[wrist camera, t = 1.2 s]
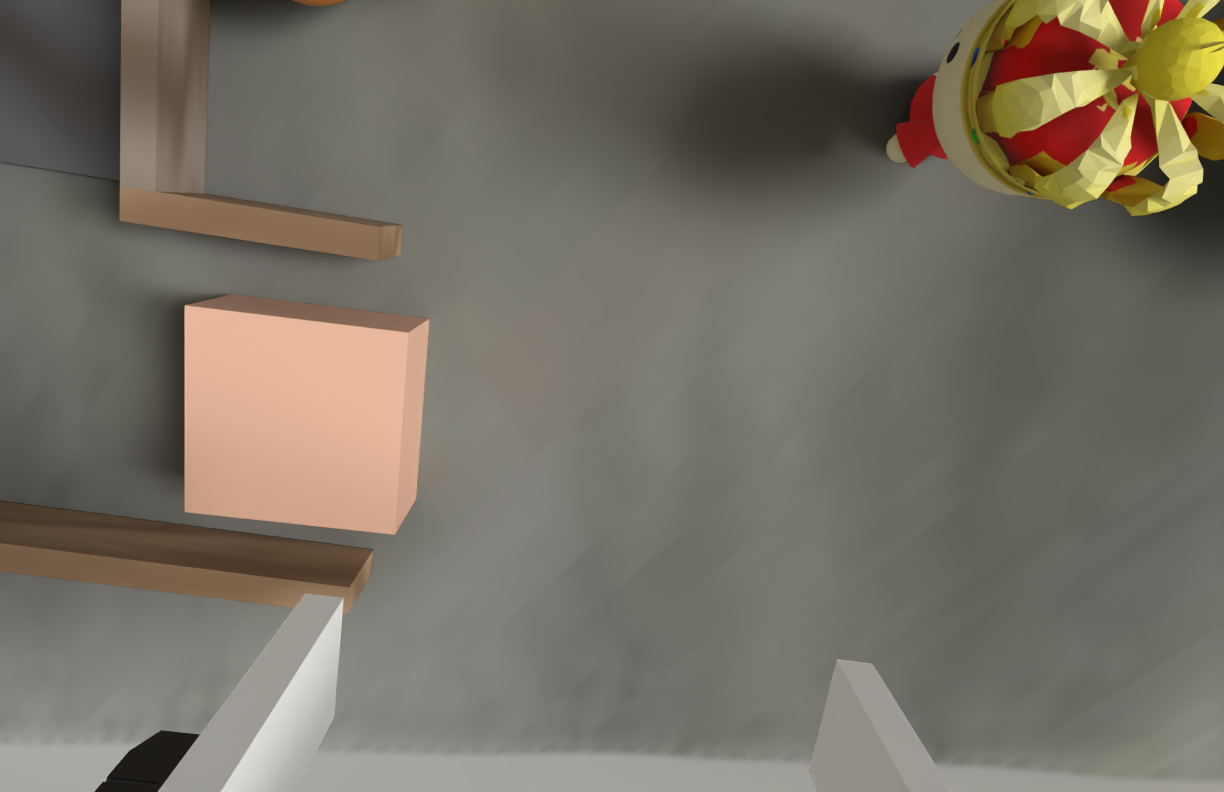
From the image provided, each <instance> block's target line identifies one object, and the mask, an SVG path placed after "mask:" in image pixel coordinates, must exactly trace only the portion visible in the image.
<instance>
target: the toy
mask: <svg viewBox="0 0 1224 792" xmlns="http://www.w3.org/2000/svg"><path fill="white" fill-rule="evenodd" d="M1219 1H1220V0H1189V1H1188V2H1187V4H1186V5H1185V7H1183V5H1182V4H1181V2H1180V1H1179V0H994V1H992V2H991V3H989V4H988V5H986V6H985V7H984V8H983V9H982V10H981V11H980V12H979V13H978V14H977V15H976V16H974V17H973V18H972V19H971V20H970V21H969V22H968V23H967V24H966V25H965V26H964V27H963V28H962V30H961V31H960V33H959V34H958V35H957V37H956V38H955V40H954V41H953V42H952V44H951V45H950V47H949V48H948V50H947V52H946V54H945V56H944V58H943V61H942V63H941V65H940V68H939V71H938V72H937V73H934V74H932V75H931V76H930V77H929V78H928V79H927V80H926V81H925V82H924V83H923V84H922V85H921V86H920V87H919V88H918V90H917V92H916V94H915V96H914V98H913V100H912V101H911V108H910V109H909V110H908V111H907V113H906V114H905V116H904V117H903V118H902V123H898V124H897V125H896V135H894V136H893V137H892V138H891V139H890V140H889V142H888V143H887V147H886V152H887V155H888V157H889V158H890V159H891V160H892V161H894V162H897V163H903V162H906V161H907V162H908V163H909V165H910V166H911V167H913V168H915V167H916V166H917V165H918V164H919V163H920V162H922V161H923V160H924V159H925V158H926V157H928V156H929V155H933V156H936V157H939V158H942V159H950V161H951V162H952V163H953V165H954V166H955V167H956V168H957V169H958V170H959V171H960V172H961V173H962V174H964V175H965V176H966V177H968V178H969V179H971V180H972V181H974V182H975V183H977V184H979V185H981V186H983V187H986V188H988V189H990V190H993V191H996V192H1000V193H1003V194H1009V195H1018V196H1030V197H1035V198H1041V199H1051V200H1052V201H1054V202H1056V203H1057V204H1059V205H1061V206H1064V207H1066V208H1069V209H1073V208H1074V207H1076V206H1078V205H1080V204H1082V203H1084V202H1087V201H1090V200H1094V199H1097V198H1098V197H1101V198H1104V199H1107V200H1110V201H1113V202H1116V203H1119V204H1122V205H1123V206H1124V207H1125V208H1126V209H1127V211H1128V212H1129V213H1130V214H1131V215H1132V216H1137V215H1147V214H1151V213H1155V212H1159V211H1163V210H1166V209H1169V208H1172V207H1174V206H1176V205H1179V204H1180V203H1182V202H1183V201H1184V200H1185V199H1187V198H1189V197H1191V196H1192V195H1194V194H1196V193H1197V185H1198V184H1200V183H1202V181H1203V168H1202V166H1201V163H1200V161H1199V159H1198V156H1199V157H1203V158H1206V159H1209V160H1213V161H1215V160H1222V159H1224V86H1221V85H1217V84H1212V83H1211V82H1212V81H1213V80H1214V79H1215V78H1216V77H1217V75H1218V74H1219V72H1220V71H1221V69H1222V68H1223V65H1224V18H1221V19H1218V20H1215V21H1213V22H1210V21H1208V20H1206V19H1204V18H1201V17H1202V16H1203V15H1205V14H1206V13H1207V12H1208V11H1209V10H1210V9H1211V8H1212V7H1214V6H1215V5H1216V4H1217V3H1218V2H1219ZM1192 100H1193V101H1195V102H1196V103H1197V104H1198V105H1199V106H1201V107H1202V108H1203V109H1204V110H1205V111H1207V112H1208V113H1209V114H1211V115H1212V116H1213V117H1215V118H1213V117H1210V116H1207V115H1204V114H1201V113H1198V112H1193V113H1187V111H1188V109H1189V107H1190V105H1191V102H1192ZM1158 154H1159V167H1160V168H1161V170H1162V171H1163V172H1164V173H1165V174H1166V175H1167V176H1168V178H1169V179H1170V180H1169V181H1168V182H1167V183H1166V184H1165V185H1164V186H1163V187H1162V186H1160V185H1158V184H1156V183H1154V182H1151V181H1149V180H1147V179H1144V178H1140V177H1136V176H1135V175H1137V174H1138V173H1140V172H1141V171H1142V170H1143V169H1144V168H1145V167H1146V166H1147V165H1148V164H1149V163H1150V162H1151V161H1152V160H1153V159H1154V158H1155V157H1156V156H1157V155H1158Z"/></svg>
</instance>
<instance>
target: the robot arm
mask: <svg viewBox="0 0 1224 792" xmlns="http://www.w3.org/2000/svg"><path fill="white" fill-rule="evenodd" d="M343 600H344V598H339V597H331V596H323V595H315V594H307V593H305V594H304V595H303V597H302V598H301V599H300V601H299V602H298V604H297V605H296V606H295V608H294V609H293V610H292V612H291V613H290V614H289V616H288V617H287V618H286V620H285V621H284V622H283V624H282V625H281V626H280V628H279V629H278V630H277V632H276V633H275V635H274V636H273V637H272V639H271V640H270V641H269V643H268V644H267V645H266V647H265V648H264V649H263V651H262V652H261V653H260V655H259V656H258V657H257V659H256V660H255V661H254V663H253V664H252V665H251V667H250V668H249V670H248V671H247V672H246V674H245V675H244V676H243V678H242V679H241V680H240V682H239V683H238V684H237V686H236V687H235V688H234V690H233V691H232V692H231V694H230V695H229V696H228V698H227V699H226V700H225V702H224V703H223V705H222V706H221V707H220V709H219V710H218V711H217V713H216V714H215V715H214V717H213V718H212V719H211V721H210V722H209V723H208V725H207V726H206V727H205V729H204V730H203V731H202V733H201V734H200V735H198V734H189V733H180V732H171V731H162V730H161V731H160V732H158V733H156V734H155V735H153V736H152V737H150V738H149V739H147V740H146V741H144V742H142V743H141V744H139V745H138V746H136V747H135V748H133V749H132V750H130V751H129V752H128V753H127V754H126V755H125V757H124V758H123V759H122V760H121V761H120V763H119V764H118V765H117V766H116V767H115V768H114V770H113V771H112V772H111V773H110V774H109V776H108V777H107V780H106V782H102V784H101V785H100V786H99V787H98V788H97V789H96V791H95V792H296V791H297V789H298V787H299V785H300V783H301V781H302V779H303V777H304V775H305V773H306V771H307V769H308V767H309V765H310V763H311V761H312V760H313V758H314V756H315V754H316V752H317V750H318V748H319V746H320V744H321V742H322V740H323V738H324V736H325V734H326V732H327V730H328V728H329V726H330V724H331V722H332V720H333V718H334V712H335V700H336V687H337V675H338V662H339V650H340V638H341V625H342V613H343ZM809 772H810V774H811V777H812V779H813V782H814V784H815V787H816V790H817V792H952V791H951V789H950V788H949V786H948V784H947V783H946V781H945V779H944V778H943V776H942V775H941V773H940V771H939V770H938V768H937V767H936V765H935V763H934V762H933V760H932V759H931V757H930V755H929V754H928V752H927V751H926V749H925V747H924V746H923V744H922V743H921V741H920V739H919V738H918V736H917V734H916V733H915V731H914V730H913V728H912V726H911V725H910V723H909V722H908V720H907V718H906V717H905V715H904V714H903V712H902V710H901V709H900V707H899V706H898V704H897V702H896V701H895V699H894V698H893V696H892V694H891V693H890V691H889V690H888V688H887V686H886V685H885V683H884V682H883V680H882V678H881V677H880V675H879V674H878V672H877V670H876V669H875V667H874V666H873V664H872V663H864V662H856V661H848V660H840V659H837V661H836V665H835V669H834V673H833V677H832V681H831V685H830V689H829V693H828V697H827V701H826V705H825V709H824V713H823V717H822V721H821V725H820V729H819V733H818V737H817V741H816V745H815V749H814V753H813V757H812V761H811V765H810V769H809Z"/></svg>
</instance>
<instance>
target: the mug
mask: <svg viewBox="0 0 1224 792" xmlns="http://www.w3.org/2000/svg"><path fill="white" fill-rule="evenodd" d="M292 1H295V2H298V3H302V4H305V5H309V6H331V5H334V4H337V3H340V2H343V1H346V0H292Z"/></svg>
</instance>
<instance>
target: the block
mask: <svg viewBox="0 0 1224 792" xmlns="http://www.w3.org/2000/svg"><path fill="white" fill-rule="evenodd" d="M428 330H429V318H420V317H412V316H404V315H396V314H388V313H380V312H372V311H364V310H356V309H347V308H339V307H331V306H323V305H315V304H307V303H299V302H291V301H283V300H275V299H266V298H258V297H250V296H242V295H234V294H230V295H226V296H222V297H218V298H214V299H209V300H205V301H201V302H197V303H192V304H188V305H185V512H189V513H198V514H208V515H217V516H226V517H235V518H245V519H254V520H263V521H273V522H282V523H291V524H301V525H310V526H319V527H329V528H338V529H347V530H356V531H366V532H375V533H384V534H394V535H395V533H396V532H397V530H398V528H399V527H400V525H401V523H402V522H403V520H404V518H405V517H406V515H407V513H408V512H409V510H410V508H411V507H412V505H413V503H414V502H415V500H416V491H417V478H418V464H419V451H420V437H421V424H422V410H423V397H424V383H425V370H426V357H427V343H428Z"/></svg>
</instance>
